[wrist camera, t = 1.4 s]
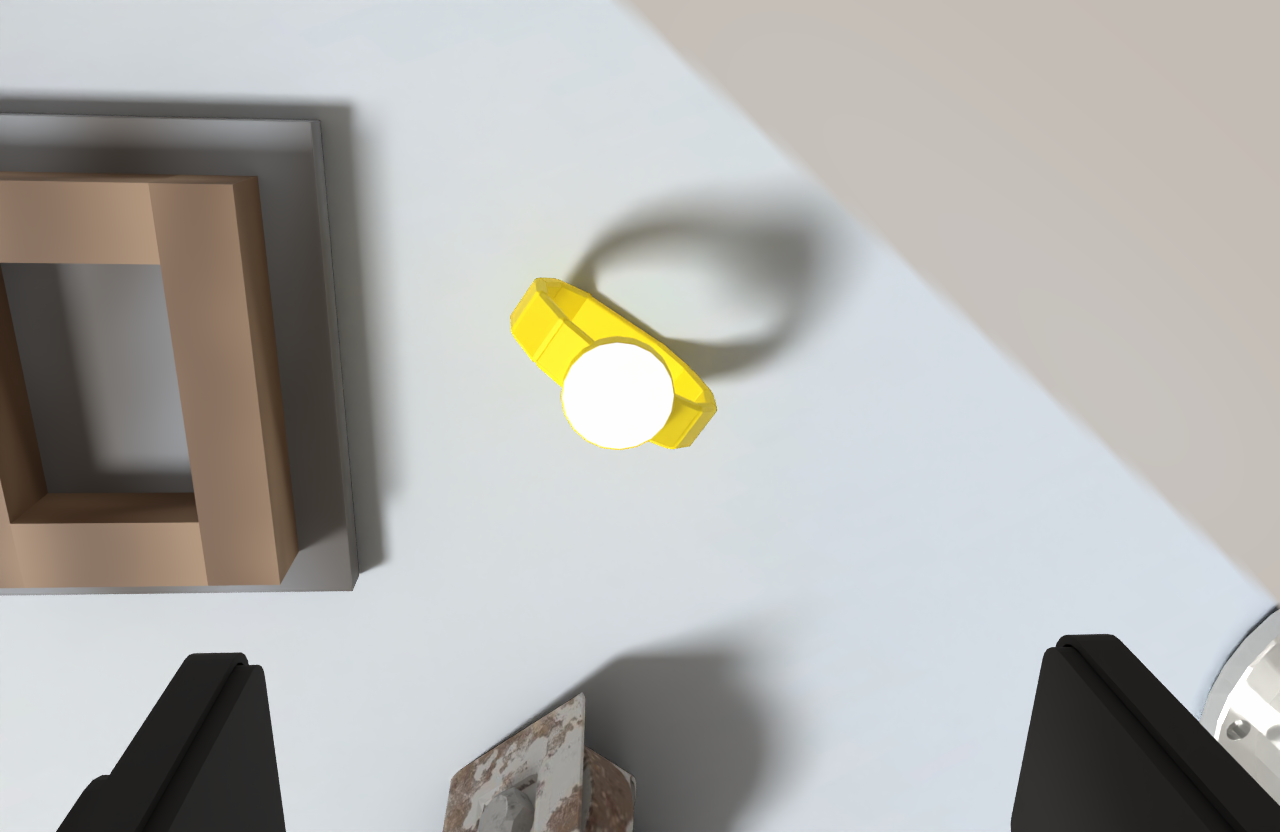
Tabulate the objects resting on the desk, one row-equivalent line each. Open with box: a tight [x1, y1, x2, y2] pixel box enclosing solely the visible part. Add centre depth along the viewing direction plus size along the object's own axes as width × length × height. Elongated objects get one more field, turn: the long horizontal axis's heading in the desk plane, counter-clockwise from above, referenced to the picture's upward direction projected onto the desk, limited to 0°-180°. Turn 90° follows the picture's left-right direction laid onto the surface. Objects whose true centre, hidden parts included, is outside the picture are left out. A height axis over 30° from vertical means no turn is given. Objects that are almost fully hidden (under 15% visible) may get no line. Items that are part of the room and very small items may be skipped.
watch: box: [510, 278, 717, 450], centre depth 26 cm, size 6×3×6 cm, turn 55°
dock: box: [0, 113, 359, 595], centre depth 26 cm, size 12×14×3 cm
